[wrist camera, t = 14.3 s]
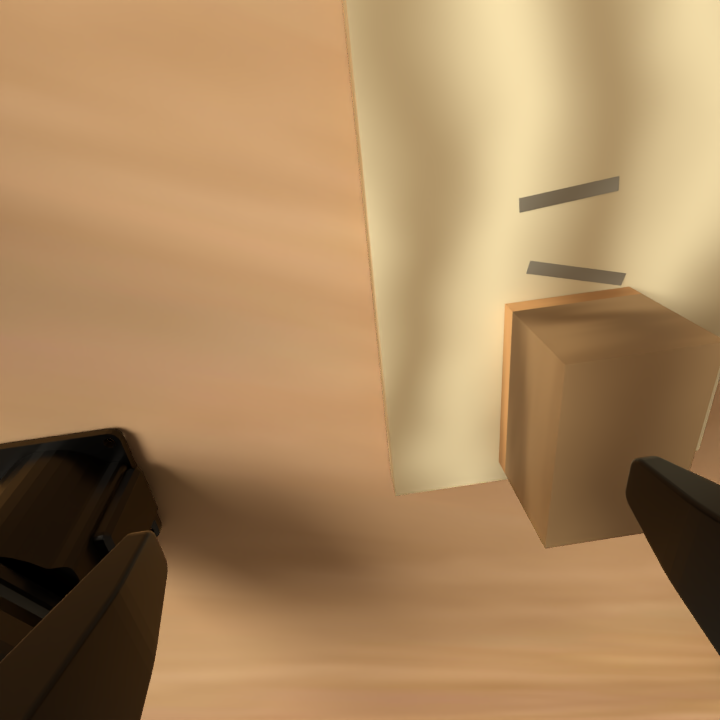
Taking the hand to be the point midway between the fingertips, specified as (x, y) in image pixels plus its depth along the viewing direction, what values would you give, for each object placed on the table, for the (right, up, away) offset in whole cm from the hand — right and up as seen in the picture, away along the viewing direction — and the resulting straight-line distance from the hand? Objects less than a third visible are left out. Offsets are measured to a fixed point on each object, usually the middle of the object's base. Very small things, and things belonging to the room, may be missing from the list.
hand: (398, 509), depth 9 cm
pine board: (+7, +8, +10) cm, 15 cm away
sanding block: (+8, +2, +12) cm, 14 cm away
